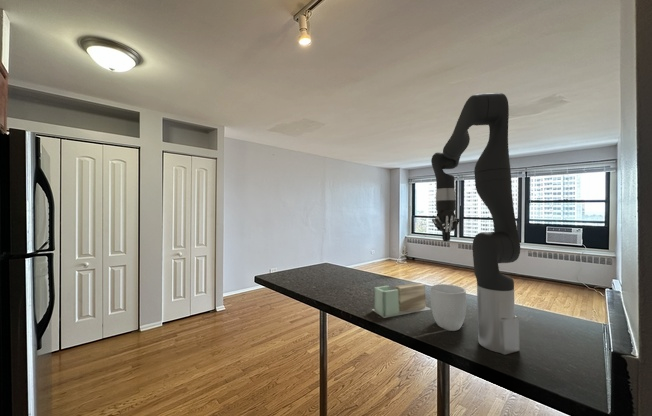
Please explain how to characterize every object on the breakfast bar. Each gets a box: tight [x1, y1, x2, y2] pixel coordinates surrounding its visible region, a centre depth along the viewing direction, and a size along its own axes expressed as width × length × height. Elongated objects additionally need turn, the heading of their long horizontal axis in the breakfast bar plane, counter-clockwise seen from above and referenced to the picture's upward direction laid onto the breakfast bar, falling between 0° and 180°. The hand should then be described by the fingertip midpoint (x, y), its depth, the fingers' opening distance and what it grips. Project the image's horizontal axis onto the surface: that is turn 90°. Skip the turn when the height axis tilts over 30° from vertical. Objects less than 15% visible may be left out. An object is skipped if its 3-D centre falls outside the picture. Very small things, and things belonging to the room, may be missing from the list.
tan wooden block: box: [394, 282, 427, 311], centre depth 106 cm, size 4×12×9 cm, turn 110°
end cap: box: [373, 285, 399, 316], centre depth 102 cm, size 7×7×9 cm
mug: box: [430, 283, 468, 332], centre depth 91 cm, size 15×11×13 cm
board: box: [371, 306, 431, 319], centre depth 105 cm, size 9×22×1 cm, turn 110°
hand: (446, 241), depth 110 cm, fingers closed
